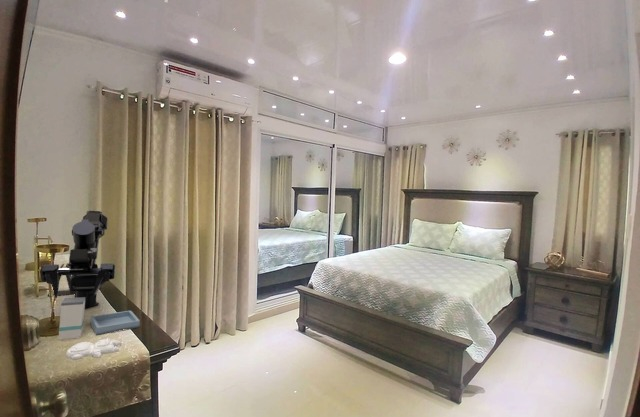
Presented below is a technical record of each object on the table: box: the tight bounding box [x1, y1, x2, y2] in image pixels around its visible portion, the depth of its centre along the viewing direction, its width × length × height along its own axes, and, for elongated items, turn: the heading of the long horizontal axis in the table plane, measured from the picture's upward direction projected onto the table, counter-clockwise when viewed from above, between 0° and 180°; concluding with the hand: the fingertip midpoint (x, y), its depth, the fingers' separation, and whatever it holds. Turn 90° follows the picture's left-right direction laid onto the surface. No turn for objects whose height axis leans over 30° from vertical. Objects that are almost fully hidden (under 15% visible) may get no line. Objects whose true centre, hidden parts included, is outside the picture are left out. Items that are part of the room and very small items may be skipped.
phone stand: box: [47, 262, 75, 297], centre depth 129 cm, size 9×6×12 cm, turn 125°
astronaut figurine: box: [65, 337, 122, 361], centre depth 85 cm, size 9×12×3 cm
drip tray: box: [89, 310, 141, 336], centre depth 102 cm, size 12×12×2 cm
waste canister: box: [58, 297, 86, 341], centre depth 93 cm, size 5×5×10 cm
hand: (75, 296), depth 95 cm, fingers open, 9 cm apart
